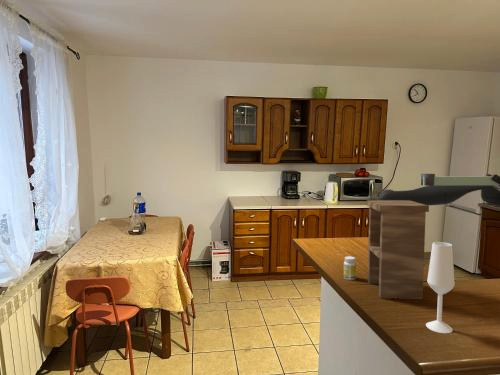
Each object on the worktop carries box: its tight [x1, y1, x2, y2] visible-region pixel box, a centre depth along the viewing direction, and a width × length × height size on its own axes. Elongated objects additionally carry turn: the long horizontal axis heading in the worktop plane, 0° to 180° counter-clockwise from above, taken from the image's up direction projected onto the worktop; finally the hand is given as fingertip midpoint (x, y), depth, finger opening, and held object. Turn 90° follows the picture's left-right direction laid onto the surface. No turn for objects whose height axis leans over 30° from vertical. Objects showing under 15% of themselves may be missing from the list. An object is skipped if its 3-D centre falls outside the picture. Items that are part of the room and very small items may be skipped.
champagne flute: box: [425, 241, 456, 334], centre depth 96 cm, size 7×7×24 cm
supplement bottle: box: [343, 255, 357, 281], centre depth 137 cm, size 5×5×8 cm
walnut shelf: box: [366, 199, 430, 300], centre depth 124 cm, size 16×16×32 cm
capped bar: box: [419, 173, 500, 187], centre depth 120 cm, size 4×28×4 cm, turn 86°
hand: (489, 176), depth 120 cm, fingers closed on capped bar, 3 cm apart
